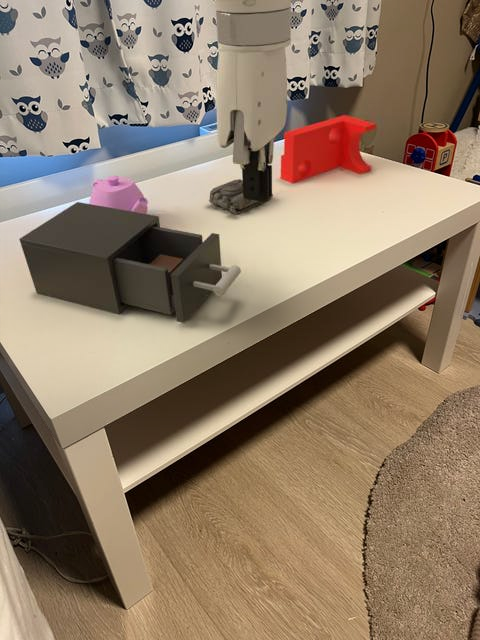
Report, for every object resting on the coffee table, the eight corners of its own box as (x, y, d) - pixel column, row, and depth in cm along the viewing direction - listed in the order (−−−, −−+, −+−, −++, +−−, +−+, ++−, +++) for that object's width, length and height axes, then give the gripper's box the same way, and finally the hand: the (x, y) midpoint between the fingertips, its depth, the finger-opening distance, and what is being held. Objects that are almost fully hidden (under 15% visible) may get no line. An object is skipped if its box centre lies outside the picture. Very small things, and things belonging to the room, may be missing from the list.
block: (173, 295, 77) (169, 272, 75) (149, 289, 78) (146, 266, 76) (186, 281, 80) (183, 258, 77) (163, 276, 81) (160, 254, 79)
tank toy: (245, 187, 113) (245, 163, 110) (278, 199, 107) (278, 174, 104) (203, 204, 106) (201, 180, 103) (235, 218, 101) (234, 193, 98)
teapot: (120, 205, 107) (112, 161, 102) (170, 225, 99) (165, 178, 94) (78, 224, 101) (67, 177, 96) (128, 247, 93) (119, 198, 88)
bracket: (341, 114, 118) (376, 123, 112) (337, 158, 125) (370, 170, 118) (281, 131, 110) (314, 143, 103) (280, 178, 116) (312, 192, 110)
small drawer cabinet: (166, 269, 87) (158, 216, 81) (119, 314, 77) (107, 257, 71) (89, 252, 92) (77, 201, 86) (36, 293, 82) (18, 238, 76)
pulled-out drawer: (250, 284, 81) (249, 239, 76) (215, 331, 72) (211, 283, 67) (143, 262, 87) (136, 219, 82) (99, 301, 78) (88, 256, 73)
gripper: (248, 17, 60) (252, 172, 71) (186, 41, 49) (203, 219, 60) (311, 18, 57) (305, 178, 69) (260, 44, 47) (263, 229, 58)
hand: (257, 197), depth 64 cm, fingers closed
